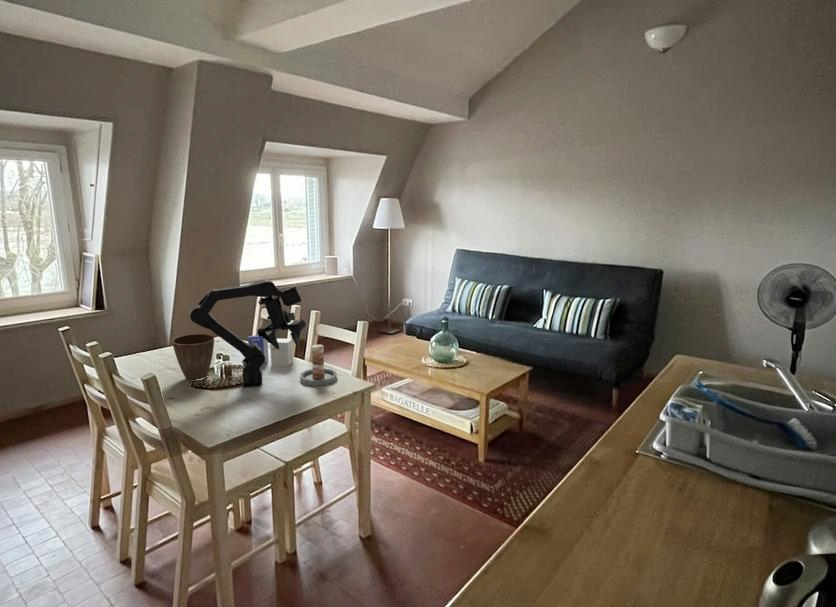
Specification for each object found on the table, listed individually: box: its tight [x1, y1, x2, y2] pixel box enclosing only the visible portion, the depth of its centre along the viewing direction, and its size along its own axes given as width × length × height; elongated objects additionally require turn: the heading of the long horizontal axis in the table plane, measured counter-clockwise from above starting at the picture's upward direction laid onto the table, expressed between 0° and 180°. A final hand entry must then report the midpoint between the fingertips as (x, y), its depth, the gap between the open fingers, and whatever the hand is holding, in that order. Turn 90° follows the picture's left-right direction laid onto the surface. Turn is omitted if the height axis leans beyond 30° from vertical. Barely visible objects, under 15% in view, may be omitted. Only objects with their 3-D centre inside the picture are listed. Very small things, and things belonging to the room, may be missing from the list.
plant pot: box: [171, 333, 215, 381], centre depth 191 cm, size 15×15×16 cm
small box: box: [269, 338, 294, 367], centre depth 210 cm, size 8×6×10 cm
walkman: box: [247, 334, 269, 363], centre depth 211 cm, size 8×3×12 cm, turn 117°
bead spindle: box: [311, 344, 325, 380], centre depth 193 cm, size 5×5×13 cm
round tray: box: [299, 367, 338, 386], centre depth 194 cm, size 14×14×2 cm
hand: (288, 347), depth 191 cm, fingers open, 9 cm apart
